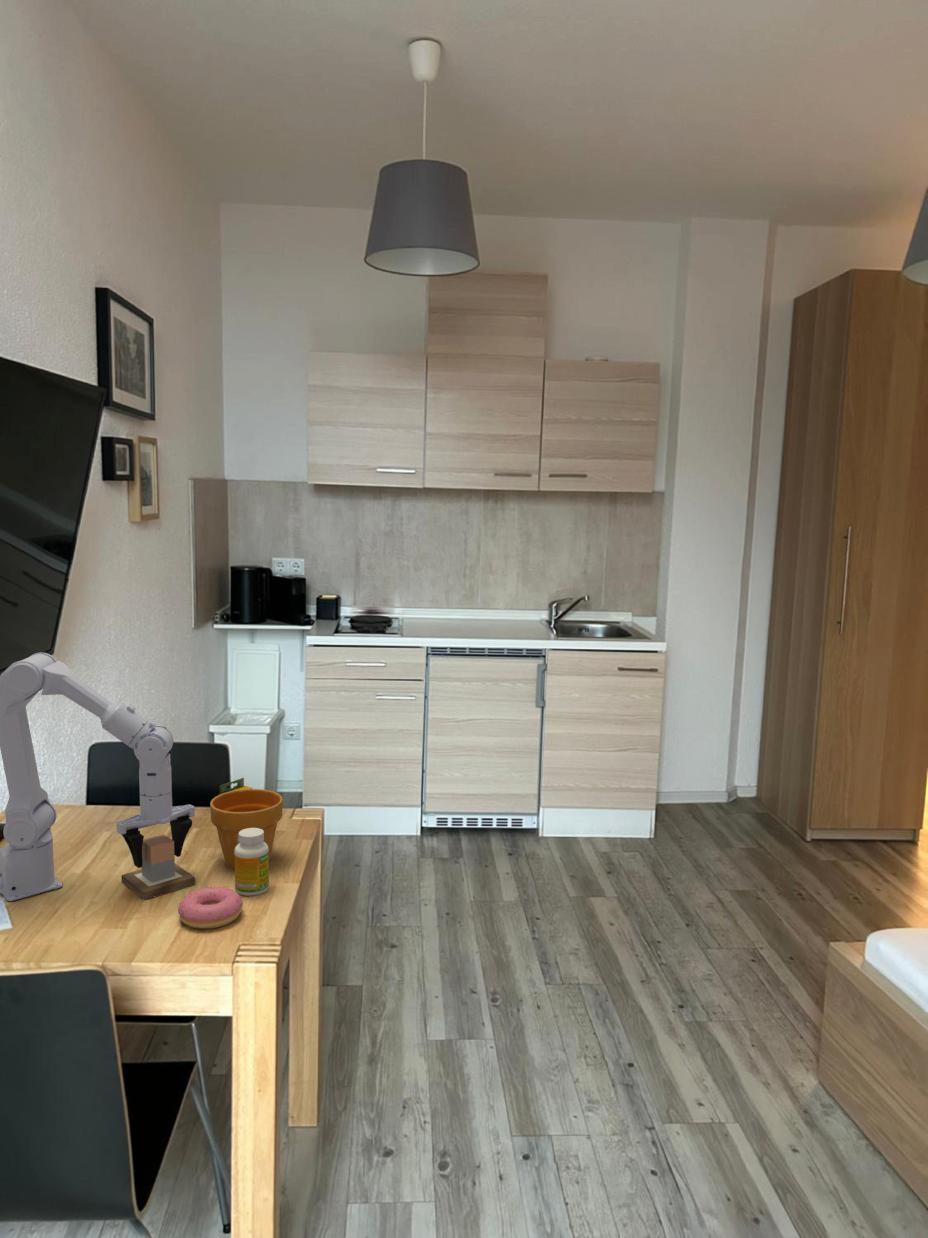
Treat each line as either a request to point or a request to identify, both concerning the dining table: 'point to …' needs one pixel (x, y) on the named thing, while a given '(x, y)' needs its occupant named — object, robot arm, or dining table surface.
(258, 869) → the supplement bottle
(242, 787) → the crayon box
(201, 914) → the doughnut
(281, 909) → the dining table surface
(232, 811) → the flower pot
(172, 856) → the block stack
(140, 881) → the walnut board
